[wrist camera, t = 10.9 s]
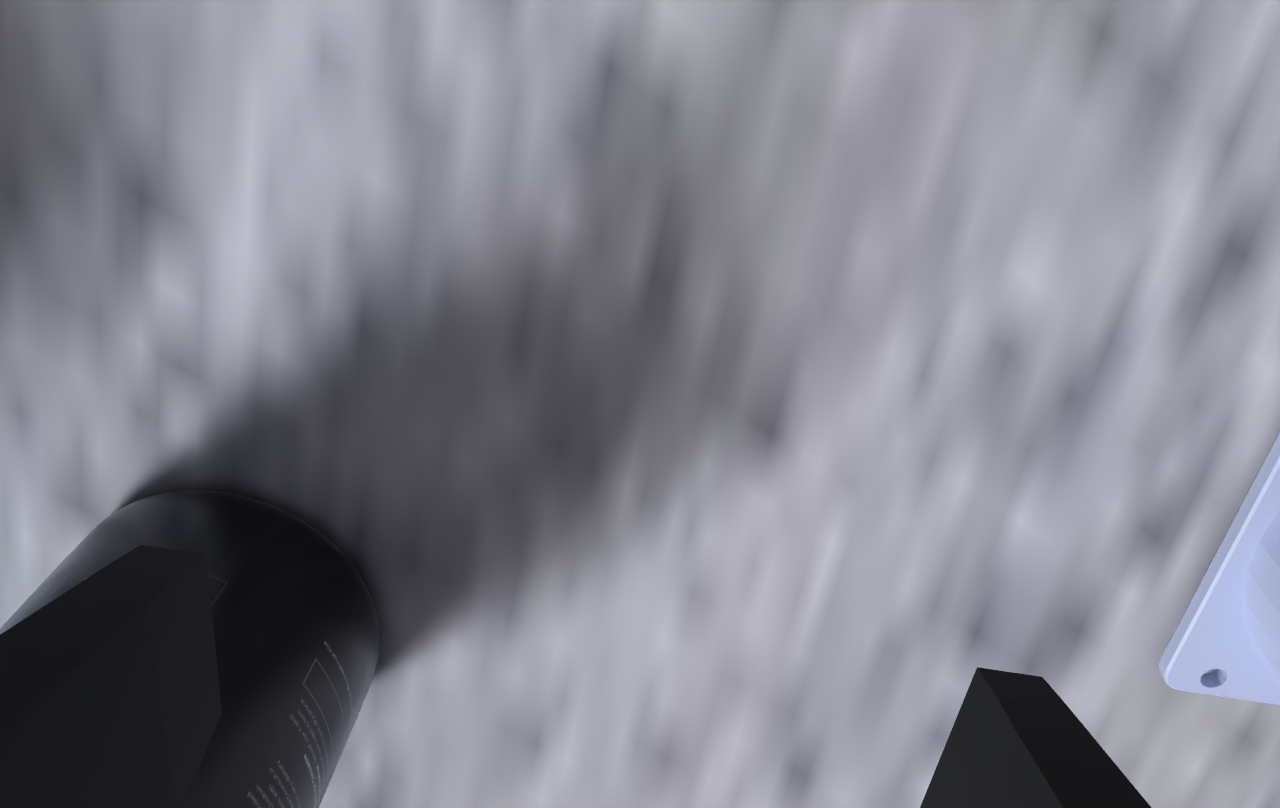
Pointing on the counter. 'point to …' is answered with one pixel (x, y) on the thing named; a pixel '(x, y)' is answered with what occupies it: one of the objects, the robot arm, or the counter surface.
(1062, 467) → the counter surface
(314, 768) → the supplement bottle
